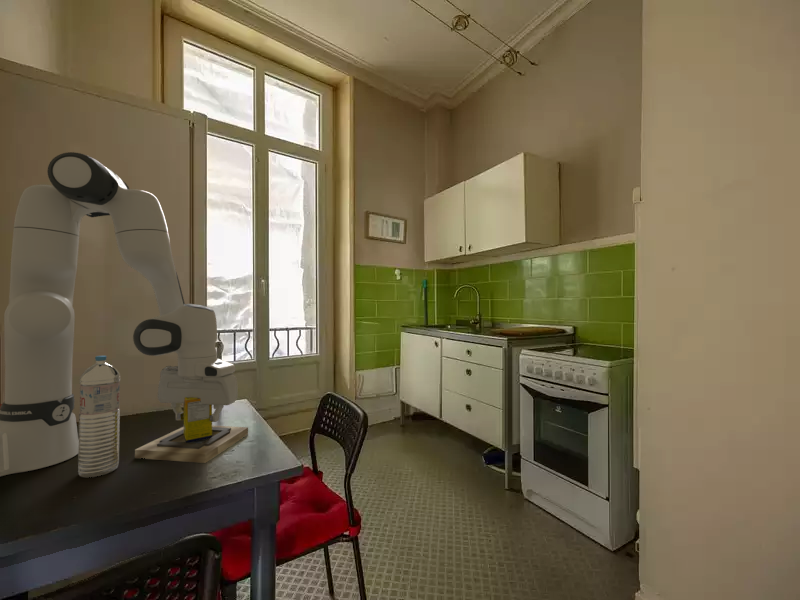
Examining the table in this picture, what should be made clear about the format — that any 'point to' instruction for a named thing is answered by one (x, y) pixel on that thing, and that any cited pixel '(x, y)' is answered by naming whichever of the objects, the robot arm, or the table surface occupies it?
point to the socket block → (191, 445)
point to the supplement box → (196, 420)
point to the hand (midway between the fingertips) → (197, 420)
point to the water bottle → (99, 420)
